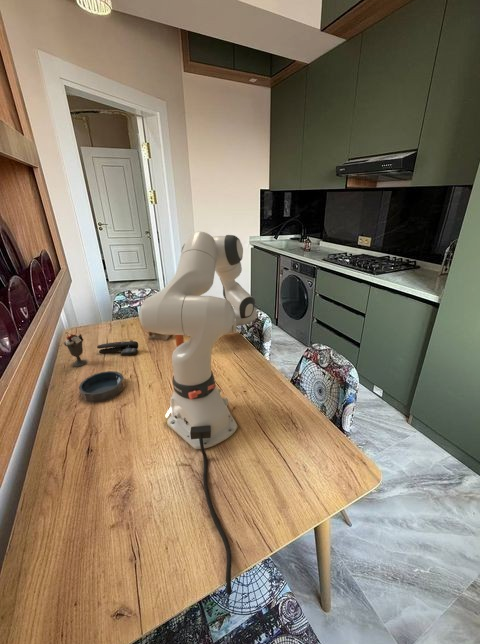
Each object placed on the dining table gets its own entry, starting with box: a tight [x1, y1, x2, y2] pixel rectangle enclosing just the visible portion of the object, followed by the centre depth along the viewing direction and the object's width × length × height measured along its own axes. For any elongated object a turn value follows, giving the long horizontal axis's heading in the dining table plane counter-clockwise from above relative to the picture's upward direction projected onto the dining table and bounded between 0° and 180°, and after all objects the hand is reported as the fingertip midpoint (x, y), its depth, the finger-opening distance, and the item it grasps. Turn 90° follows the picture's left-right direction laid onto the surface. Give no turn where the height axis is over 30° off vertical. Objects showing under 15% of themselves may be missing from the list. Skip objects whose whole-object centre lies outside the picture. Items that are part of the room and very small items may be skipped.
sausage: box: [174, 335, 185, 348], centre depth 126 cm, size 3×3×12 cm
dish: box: [78, 370, 126, 403], centre depth 101 cm, size 14×14×4 cm
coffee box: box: [147, 331, 171, 341], centre depth 138 cm, size 9×6×16 cm
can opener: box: [96, 339, 139, 357], centre depth 125 cm, size 18×7×6 cm, turn 89°
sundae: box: [63, 331, 88, 368], centre depth 115 cm, size 7×7×15 cm
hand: (200, 327), depth 130 cm, fingers open, 8 cm apart
